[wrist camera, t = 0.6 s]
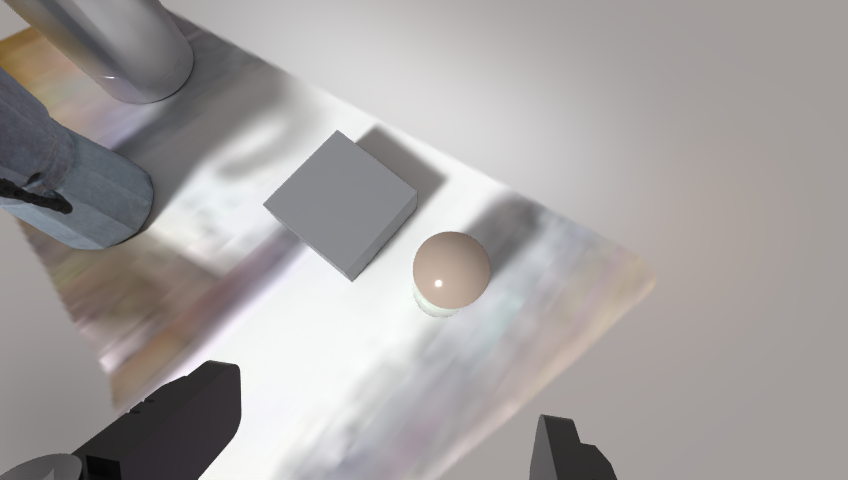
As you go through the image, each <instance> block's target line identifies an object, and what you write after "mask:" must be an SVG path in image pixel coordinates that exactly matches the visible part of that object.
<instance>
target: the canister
mask: <svg viewBox="0 0 848 480" xmlns="http://www.w3.org/2000/svg"><path fill="white" fill-rule="evenodd" d="M413 277H414V283H413V294H414V298H415V301H416V303H417V304H418V306H419V307H420V308H421V309H422V310H423V311H424V312H425V313H426V314H428V315H430V316H433V317H437V318H446V317H451V316H453V315H455V314H457V313H458V312H460V311H461V310H462V309H463V308H464V307H466V306H468V305H470V304H471V303H473V302H474V301H475V300H477V299H478V298H479V297H480V296H481V295H482V294H483V292H484V291H485V289H486V287H487V285H488V282H489V279H490V262H489V259H488V256H487V254H486V252H485V250H484V249H483V247H482V246H481V245H480V244H479V243H478V242H477V241H476V240H475V239H473V238H472V237H470V236H468V235H466V234H463V233H459V232H442V233H439V234H436V235H434V236H432V237H430V238H429V239H427V240H426V241H425V242H424V243H423V244H422V245H421V247H420V248H419V250H418V251H417V253H416V256H415V259H414V264H413Z"/></svg>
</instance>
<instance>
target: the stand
mask: <svg viewBox="0 0 848 480" xmlns="http://www.w3.org/2000/svg"><path fill="white" fill-rule="evenodd" d="M417 193H418V191H416V190H415V189H414V188H412V187H411V186H410V185H409V184H407V183H406V182H405V181H403V180H402V179H401V178H399V177H398V176H397V175H396V174H394V173H393V172H392V171H390V170H389V169H388V168H386V167H385V166H384V165H383V164H381V163H380V162H379V161H377V160H376V159H375V158H373V157H372V156H371V155H370V154H368V153H367V152H366V151H364V150H363V149H362V148H360V147H359V146H358V145H357V144H355V143H354V142H353V141H351V140H350V139H349V138H347V137H346V136H345V135H344V134H342V133H341V132H340V131H338V130H337V131H336V132H335V133H334V134H333V135H332V136H331V137H330V138H329V139H328V140H327V141H326V142H325V143H324V144H323V145H322V146H321V147H320V148H319V149H318V150H317V151H316V152H315V153H314V154H313V155H312V156H311V157H310V158H309V159H308V160H307V161H306V162H305V163H304V164H303V165H302V166H301V167H300V168H299V169H298V170H297V171H296V172H295V173H294V174H293V175H292V176H291V177H290V178H289V179H288V180H287V181H286V182H285V183H284V184H283V185H282V186H281V187H280V188H279V189H278V190H277V191H276V192H275V193H274V194H273V195H272V196H271V197H270V198H269V199H268V200H267V201H266V202H265V203H264V204H263V205H264V206H265V207H266V208H267V209H268V211H269V212H270V213H271V214H272V215H273V216H274V217H275V218H276V219H277V220H278V221H280V222H281V223H282V224H283V225H284V226H286V227H287V228H288V229H289V230H290V231H291V232H293V233H294V234H295V235H296V236H297V237H299V238H300V239H301V240H302V241H303V242H305V243H306V244H307V245H308V246H309V247H311V248H312V249H313V250H314V251H315V252H317V253H318V254H319V255H320V256H321V257H323V258H324V259H325V260H326V261H327V262H329V263H330V264H331V265H332V266H333V267H335V268H336V269H337V270H338V271H339V272H341V273H342V274H343V275H344V276H345V277H347V278H348V279H349V280H350V281H351V282H352V281H353V280H354V279H355V278H356V277H357V276H358V275H359V273H360V272H361V271H362V270H363V269H364V268H365V267H366V265H367V264H368V263H369V262H370V261H371V260H372V259H373V257H374V256H375V255H376V254H377V253H378V252H379V251H380V249H381V248H382V247H383V246H384V245H385V244H386V243H387V241H388V240H389V239H390V238H391V237H392V236H393V235H394V233H395V232H396V231H397V230H398V229H399V228H400V226H401V225H402V224H403V223H404V222H405V221H406V220H407V218H408V217H409V216H410V215H411V214H412V213H413V212H414V210H415V209H416V208H417Z"/></svg>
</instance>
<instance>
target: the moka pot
mask: <svg viewBox="0 0 848 480" xmlns="http://www.w3.org/2000/svg"><path fill="white" fill-rule="evenodd" d="M152 203H153V188H152V183H151V178H150V176H149V175H148V174H147V173H146V172H145V171H143V170H142V169H141V168H139V167H138V166H136V165H135V164H134V163H132V162H131V161H129V160H128V159H126V158H124V157H122V156H120V155H118V154H116V153H114V152H112V151H110V150H109V149H107V148H105V147H103V146H101V145H99V144H97V143H95V142H93V141H91V140H89V139H87V138H86V137H84V136H82V135H79V134H77V133H76V132H74V131H72V130H70V129H68V128H66V127H64V126H62V125H61V124H59V123H58V122H57V121H55V120H54V119H53V118H51V117H50V116H49V113H48V111H47V109H46V107H45V106H44V105H43V104H42V103H41V102H40V101H39V100H38V99H37V98H35V97H34V96H33V95H32V94H31V93H30V92H28V91H27V90H26V89H25V88H24V87H23V86H22V85H20V84H19V83H18V82H17V81H16V80H15V79H14V78H13V77H12V76H11V75H9V74H8V73H7V72H6V71H5V70H4V69H2V68H1V67H0V207H1V208H3V209H4V210H6V211H8V212H10V213H12V214H14V215H15V216H17V217H18V218H20V219H22V220H24V221H25V222H27V223H29V224H31V225H33V226H34V227H36V228H38V229H40V230H42V231H43V232H45V233H47V234H48V235H50V236H52V237H54V238H56V239H57V240H59V241H61V242H63V243H65V244H66V245H68V246H70V247H72V248H77V249H86V250H94V249H105V248H107V247H111V246H114V245H116V244H118V243H119V242H121V241H123V240H125V239H127V238H129V237H130V236H132V235H133V234H135V233H137V232H138V231H139V229H140V228H141V227H142V225H143V224H144V222H145V220H146V219H147V217H148V215H149V213H150V209H151V206H152Z"/></svg>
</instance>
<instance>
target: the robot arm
mask: <svg viewBox="0 0 848 480" xmlns="http://www.w3.org/2000/svg"><path fill="white" fill-rule="evenodd" d="M2 1H3V2H4V3H6V4H7V5H8V6H9V7H10V8H11V9H12V10H14V11H15V12H16V13H17V14H18V15H19V16H21V17H22V18H23V19H24V20H25V21H26V22H27V23H29V24H30V25H31V26H32V27H33V28H34V29H35V30H37V31H38V32H39V33H40V34H41V35H42V36H43V37H45V38H46V39H47V40H48V41H49V42H50V43H51V44H53V45H54V46H55V47H56V48H57V49H58V50H60V51H61V52H62V53H63V54H64V55H65V56H66V57H68V58H69V59H70V60H71V61H72V62H73V63H74V64H76V65H77V66H78V67H79V68H80V69H81V70H82V71H83V72H85V73H86V74H87V75H88V76H89V77H90V78H92V79H93V80H94V81H95V82H96V83H97V84H99V85H100V86H101V87H102V88H103V89H104V90H106V91H107V92H108V93H109V94H110V95H111V96H113V97H115V98H116V99H118V100H120V101H124V102H128V103H135V104H143V103H151V102H155V101H158V100H161V99H163V98H165V97H168V96H170V95H171V94H173V93H174V92H175V91H177V90H178V89H179V88H180V87H181V86H182V85H183V84H184V83H185V82H186V80H187V79H188V77H189V75H190V73H191V70H192V68H193V61H194V57H193V51H192V49H191V46H190V44H189V43H188V41H187V40H186V38H185V37H184V35H183V34H182V33H181V31H180V30H179V28H178V27H177V26H176V24H175V23H174V21H173V20H172V18H171V17H170V16H169V14H168V12H167V11H166V10H165V8H164V7H163V5H162V4H161V3H160V1H159V0H2ZM240 420H241V380H240V369H239V367H238V365H236V364H230V363H224V362H218V361H212V360H209V361H206V362H204V363H203V364H202V365H200V366H199V367H198V368H197V369H195V370H194V371H193V372H191V373H190V374H189V375H188V376H183V377H181V378H178V379H176V380H174V381H172V382H169V383H167V384H165V385H163V386H161V387H160V388H159V389H157V390H156V391H155V392H153V393H152V394H151V395H149V396H148V397H147V398H145V400H144V402H142V401H141V402H140V403H138V404H137V405H136V406H134V407H133V408H132V409H130V412H129V413H125V414H124V415H122V416H121V417H120V418H118V419H117V420H116V421H114V422H113V423H112V424H110V425H109V426H108V427H107V428H105V429H104V430H102V431H101V432H100V433H98V434H97V435H96V436H94V437H93V438H92V439H90V440H89V441H88V442H86V443H85V444H84V445H82V446H81V447H80V448H78V449H77V450H76V451H74V452H73V453H72V454H52V455H46V456H42V457H38V458H35V459H32V460H30V461H27V462H25V463H22V464H20V465H18V466H16V467H14V468H12V469H10V470H9V471H7V472H5V473H4V474H2V475H1V476H0V480H198V479H199V477H200V476H201V475H202V474H203V473H204V472H205V470H206V469H207V468H208V467H209V466H210V465H211V463H212V462H213V461H214V460H215V459H216V458H217V456H218V455H219V454H220V453H221V452H222V451H223V449H224V448H225V447H226V446H227V445H228V443H229V442H230V441H231V440H232V439H233V437H234V436H235V434H236V432H237V430H238V427H239V424H240ZM529 480H617V478H616V475H615V473H614V471H613V468H612V465H611V463H610V462H609V461H608V460H607V459H606V458H605V457H604V455H603V454H602V453H601V452H600V451H599V450H598V448H597V447H596V446H595V445H588V444H583V443H580V440H579V437H578V433H577V430H576V427H575V424H574V422H573V420H572V419H567V418H561V417H554V416H548V415H540V417H539V421H538V426H537V432H536V437H535V443H534V449H533V454H532V460H531V466H530V479H529Z"/></svg>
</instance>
